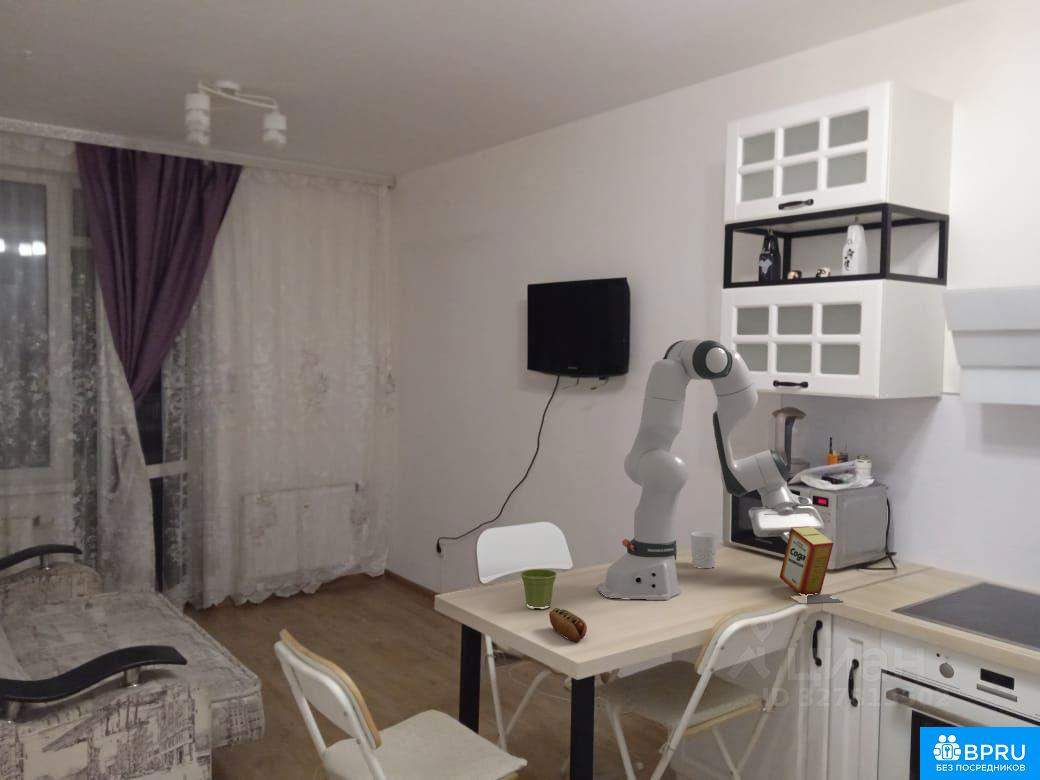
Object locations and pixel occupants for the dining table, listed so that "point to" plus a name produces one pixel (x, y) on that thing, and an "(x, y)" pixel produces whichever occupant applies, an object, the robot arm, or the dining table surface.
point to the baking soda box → (806, 560)
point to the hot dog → (568, 624)
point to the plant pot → (538, 586)
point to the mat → (821, 599)
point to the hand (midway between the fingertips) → (796, 547)
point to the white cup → (703, 549)
